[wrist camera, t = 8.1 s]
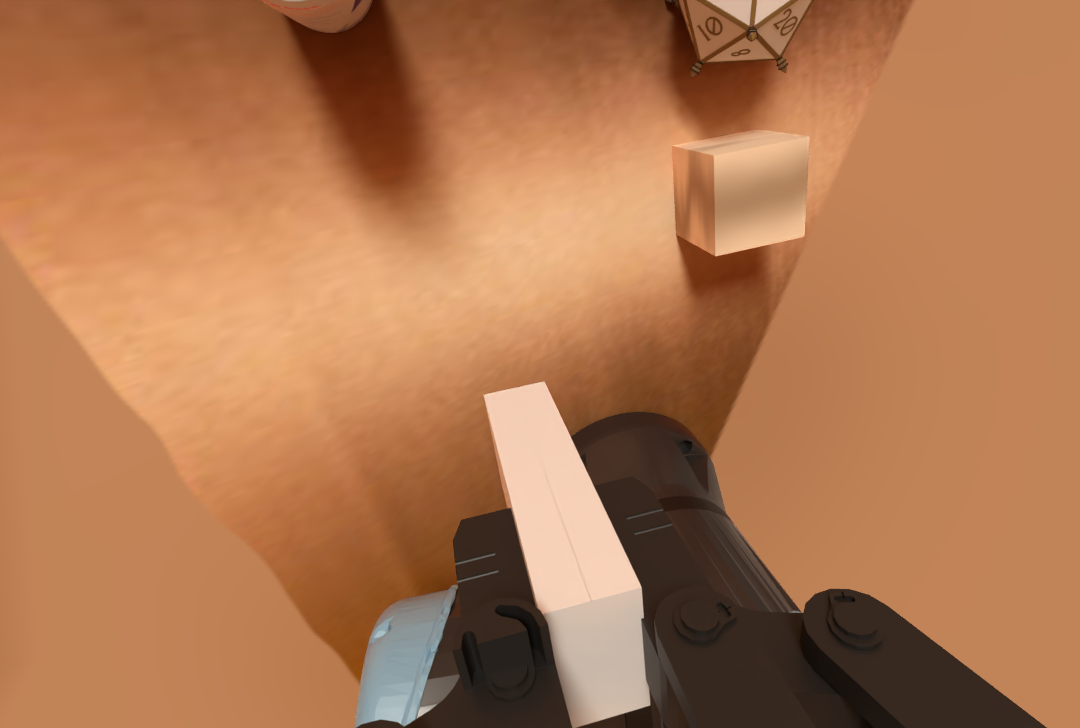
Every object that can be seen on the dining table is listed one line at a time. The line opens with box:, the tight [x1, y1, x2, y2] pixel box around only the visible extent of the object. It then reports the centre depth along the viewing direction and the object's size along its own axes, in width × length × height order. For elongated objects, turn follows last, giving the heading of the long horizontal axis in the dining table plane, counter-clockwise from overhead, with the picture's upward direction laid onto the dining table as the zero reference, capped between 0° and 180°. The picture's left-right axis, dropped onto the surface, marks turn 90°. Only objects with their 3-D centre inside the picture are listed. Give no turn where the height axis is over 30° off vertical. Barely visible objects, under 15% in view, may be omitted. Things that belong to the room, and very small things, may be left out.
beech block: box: [672, 129, 810, 256], centre depth 38 cm, size 6×6×6 cm
